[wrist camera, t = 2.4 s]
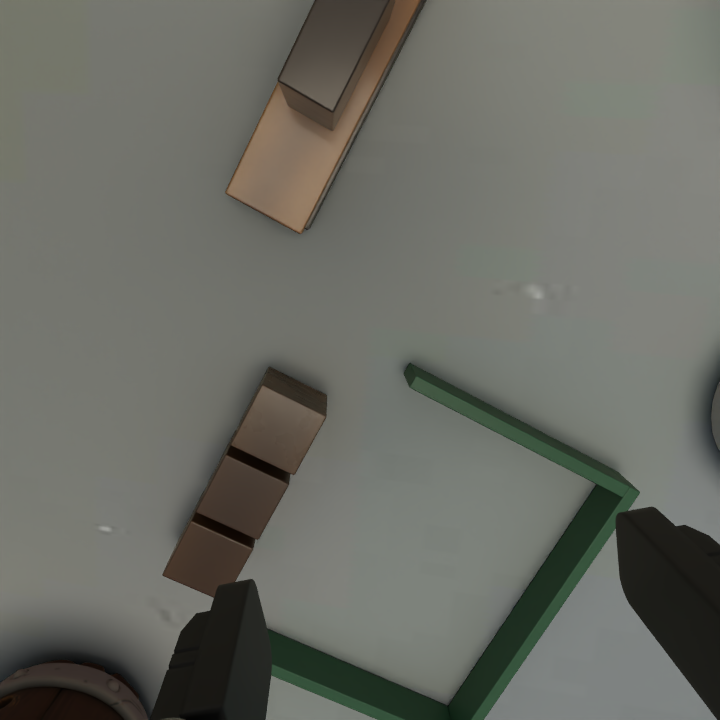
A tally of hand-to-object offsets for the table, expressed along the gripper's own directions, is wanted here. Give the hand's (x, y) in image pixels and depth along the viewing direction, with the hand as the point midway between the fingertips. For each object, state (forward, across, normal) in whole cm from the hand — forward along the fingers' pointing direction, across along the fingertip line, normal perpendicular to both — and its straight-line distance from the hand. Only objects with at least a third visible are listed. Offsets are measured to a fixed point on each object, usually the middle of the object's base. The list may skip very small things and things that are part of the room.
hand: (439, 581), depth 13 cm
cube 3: (+24, +6, +3) cm, 25 cm away
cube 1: (+24, +12, +10) cm, 29 cm away
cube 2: (+24, +9, +7) cm, 27 cm away
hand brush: (+24, -1, -15) cm, 29 cm away
